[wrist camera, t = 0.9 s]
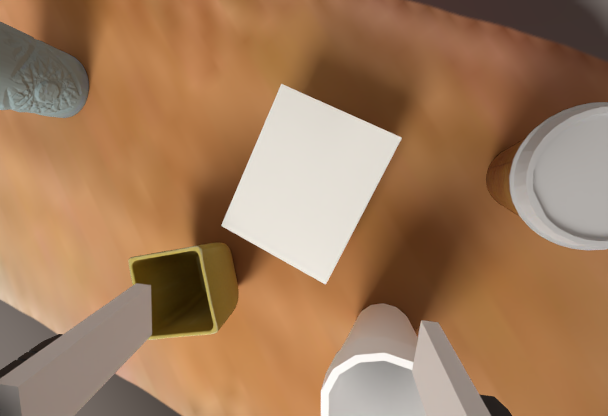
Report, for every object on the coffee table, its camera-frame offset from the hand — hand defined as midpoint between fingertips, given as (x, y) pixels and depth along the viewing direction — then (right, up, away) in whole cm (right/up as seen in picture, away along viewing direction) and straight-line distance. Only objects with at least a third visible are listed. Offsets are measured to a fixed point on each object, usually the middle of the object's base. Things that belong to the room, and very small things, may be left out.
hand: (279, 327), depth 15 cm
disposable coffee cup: (+23, +9, +16) cm, 29 cm away
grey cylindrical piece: (-31, +22, +28) cm, 48 cm away
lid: (+2, +8, +17) cm, 19 cm away
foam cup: (+10, -8, +20) cm, 24 cm away
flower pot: (-10, -2, +25) cm, 27 cm away
